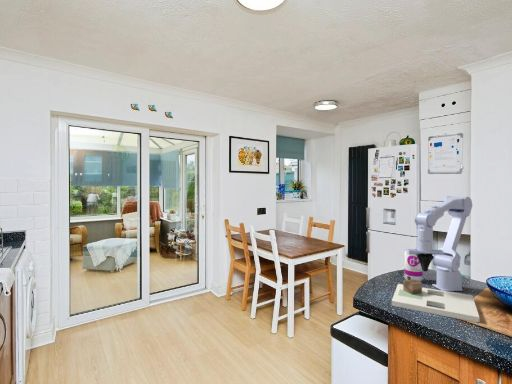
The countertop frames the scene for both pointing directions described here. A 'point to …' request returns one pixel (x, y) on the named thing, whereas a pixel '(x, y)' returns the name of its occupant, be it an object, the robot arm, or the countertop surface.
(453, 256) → the robot arm
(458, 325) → the countertop surface
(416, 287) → the walnut block
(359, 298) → the countertop surface
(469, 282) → the countertop surface
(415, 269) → the supplement can
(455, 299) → the board
